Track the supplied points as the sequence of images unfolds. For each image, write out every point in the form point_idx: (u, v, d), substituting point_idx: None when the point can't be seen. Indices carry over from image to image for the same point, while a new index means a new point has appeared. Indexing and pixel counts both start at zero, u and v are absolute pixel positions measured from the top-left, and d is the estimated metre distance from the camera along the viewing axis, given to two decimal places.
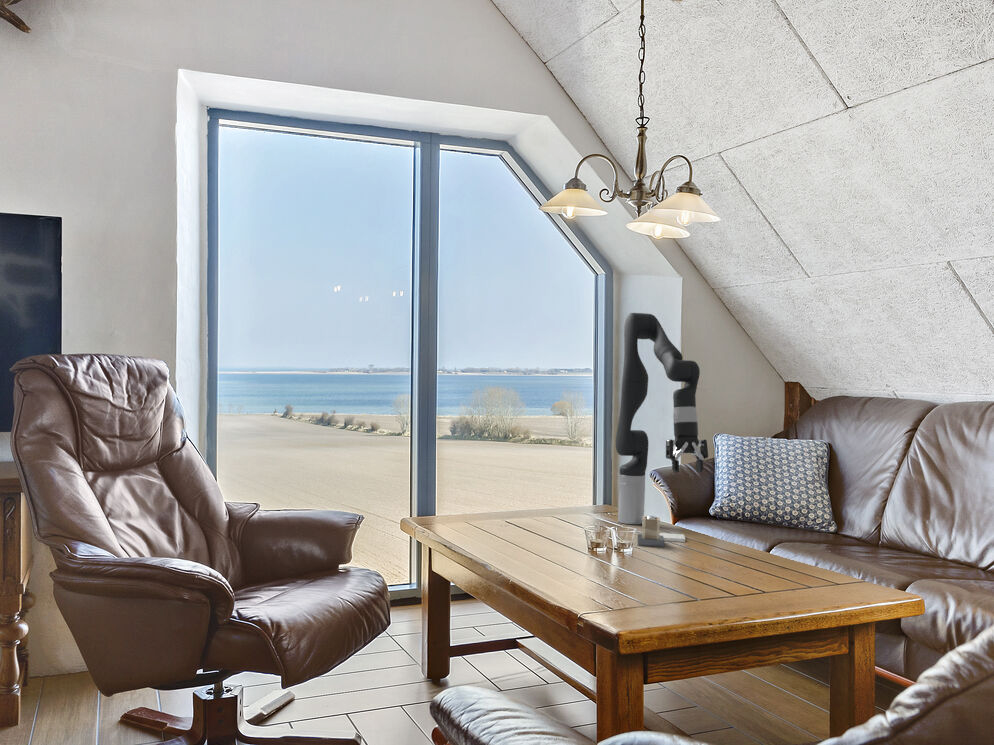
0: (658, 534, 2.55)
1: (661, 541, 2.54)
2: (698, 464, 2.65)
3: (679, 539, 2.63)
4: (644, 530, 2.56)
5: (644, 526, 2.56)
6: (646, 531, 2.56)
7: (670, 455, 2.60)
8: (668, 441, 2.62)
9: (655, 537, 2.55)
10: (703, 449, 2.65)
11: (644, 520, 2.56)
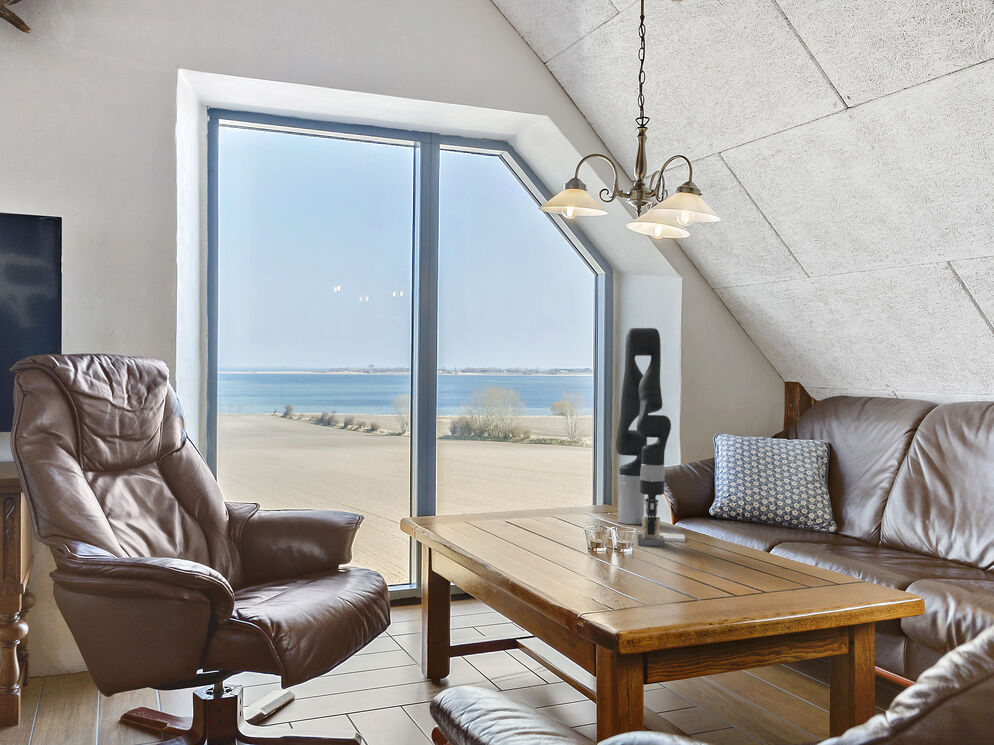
0: (658, 534, 2.55)
1: (661, 541, 2.54)
2: None
3: (679, 539, 2.63)
4: (644, 530, 2.56)
5: (644, 526, 2.56)
6: (646, 531, 2.56)
7: (655, 519, 2.53)
8: (653, 505, 2.52)
9: (655, 537, 2.55)
10: None
11: (644, 520, 2.56)
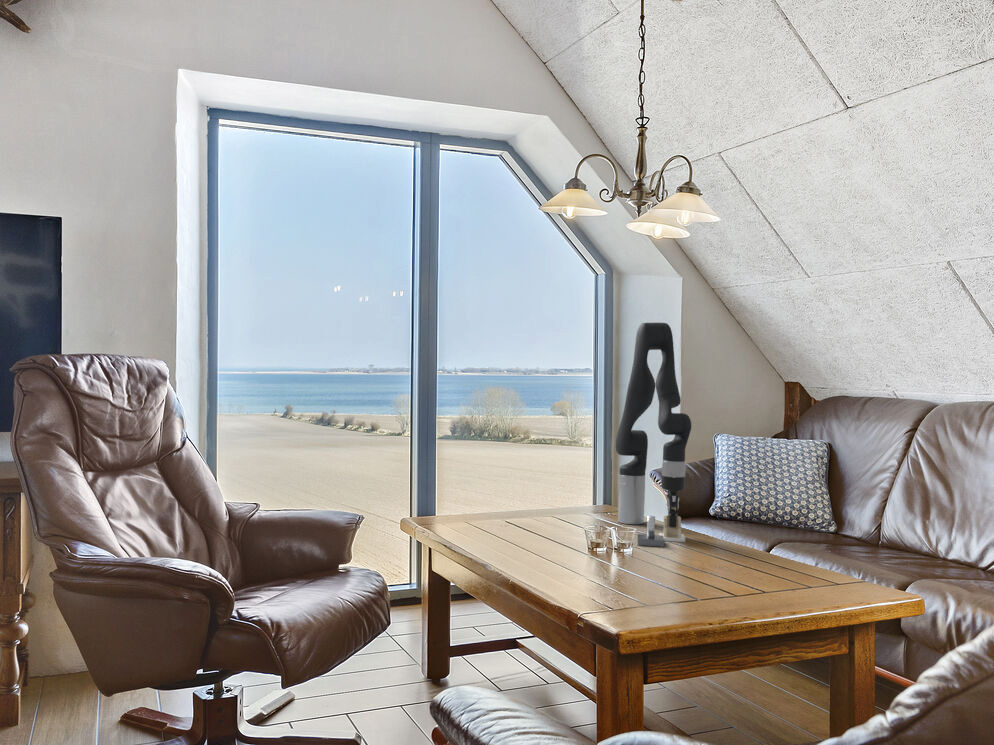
0: (679, 533, 2.64)
1: (661, 541, 2.54)
2: None
3: (679, 539, 2.63)
4: (666, 529, 2.65)
5: (666, 525, 2.65)
6: (668, 530, 2.65)
7: (677, 511, 2.60)
8: (674, 497, 2.60)
9: (676, 535, 2.64)
10: None
11: (665, 519, 2.65)
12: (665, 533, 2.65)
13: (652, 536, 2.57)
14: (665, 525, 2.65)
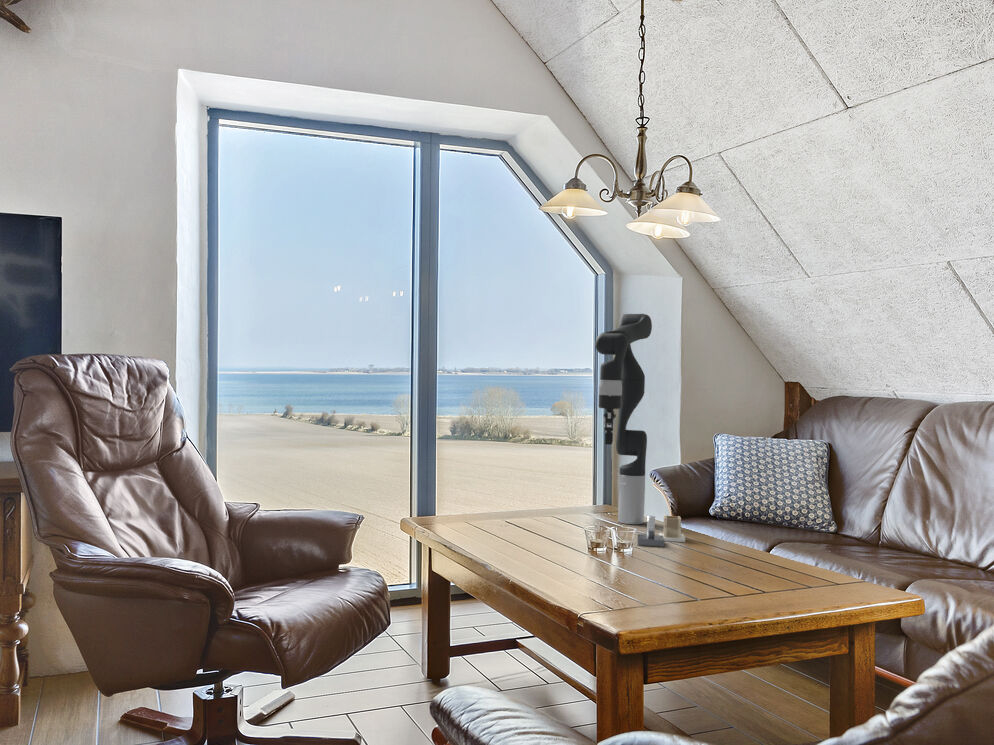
0: (679, 533, 2.64)
1: (661, 541, 2.54)
2: None
3: (679, 539, 2.63)
4: (666, 529, 2.65)
5: (666, 525, 2.65)
6: (668, 530, 2.65)
7: (612, 428, 2.64)
8: (610, 414, 2.64)
9: (676, 535, 2.64)
10: None
11: (665, 519, 2.65)
12: (665, 533, 2.65)
13: (652, 536, 2.57)
14: (665, 525, 2.65)
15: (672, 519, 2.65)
